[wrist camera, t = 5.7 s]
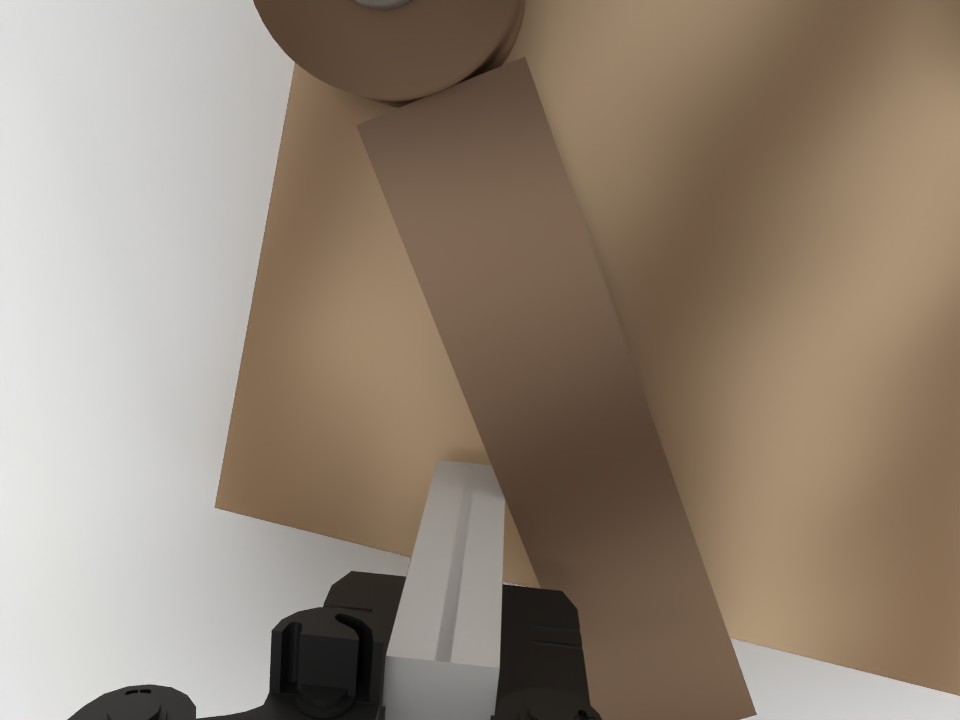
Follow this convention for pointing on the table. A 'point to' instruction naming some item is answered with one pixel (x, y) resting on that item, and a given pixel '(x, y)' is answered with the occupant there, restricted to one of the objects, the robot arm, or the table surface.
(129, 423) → the table surface
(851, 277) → the frame board
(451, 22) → the leg bar
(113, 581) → the table surface
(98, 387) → the table surface
